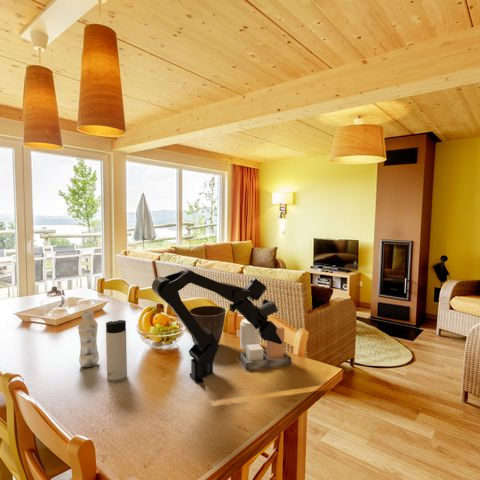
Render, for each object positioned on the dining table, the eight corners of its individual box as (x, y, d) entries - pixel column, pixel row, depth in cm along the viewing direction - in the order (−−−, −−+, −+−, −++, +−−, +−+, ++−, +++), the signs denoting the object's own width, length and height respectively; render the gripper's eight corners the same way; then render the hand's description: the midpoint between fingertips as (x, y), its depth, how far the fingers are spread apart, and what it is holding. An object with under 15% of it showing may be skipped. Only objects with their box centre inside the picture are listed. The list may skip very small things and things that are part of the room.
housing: (244, 374, 114) (244, 364, 114) (236, 361, 125) (236, 351, 124) (294, 368, 119) (294, 358, 119) (282, 355, 130) (282, 346, 129)
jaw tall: (270, 364, 120) (271, 329, 119) (266, 358, 125) (266, 324, 124) (283, 362, 121) (284, 328, 120) (279, 357, 126) (279, 323, 125)
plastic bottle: (103, 363, 122) (101, 310, 121) (87, 371, 116) (86, 315, 114) (90, 360, 125) (89, 308, 123) (75, 367, 119) (73, 313, 117)
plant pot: (182, 352, 132) (182, 313, 131) (200, 339, 146) (200, 304, 145) (215, 358, 127) (215, 318, 126) (231, 344, 141) (231, 307, 139)
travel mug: (108, 385, 107) (106, 324, 105) (106, 376, 112) (104, 318, 111) (128, 380, 110) (127, 321, 108) (125, 372, 115) (124, 316, 114)
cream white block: (249, 366, 118) (250, 350, 117) (245, 360, 123) (246, 345, 122) (263, 365, 119) (263, 349, 119) (258, 359, 124) (258, 343, 123)
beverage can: (258, 353, 132) (258, 324, 131) (238, 352, 133) (238, 322, 132) (261, 346, 140) (261, 318, 139) (242, 344, 141) (242, 316, 140)
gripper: (271, 301, 111) (301, 331, 114) (258, 288, 129) (284, 315, 132) (248, 325, 110) (279, 355, 113) (238, 309, 129) (265, 335, 131)
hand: (277, 338), depth 122 cm, fingers open, 9 cm apart
